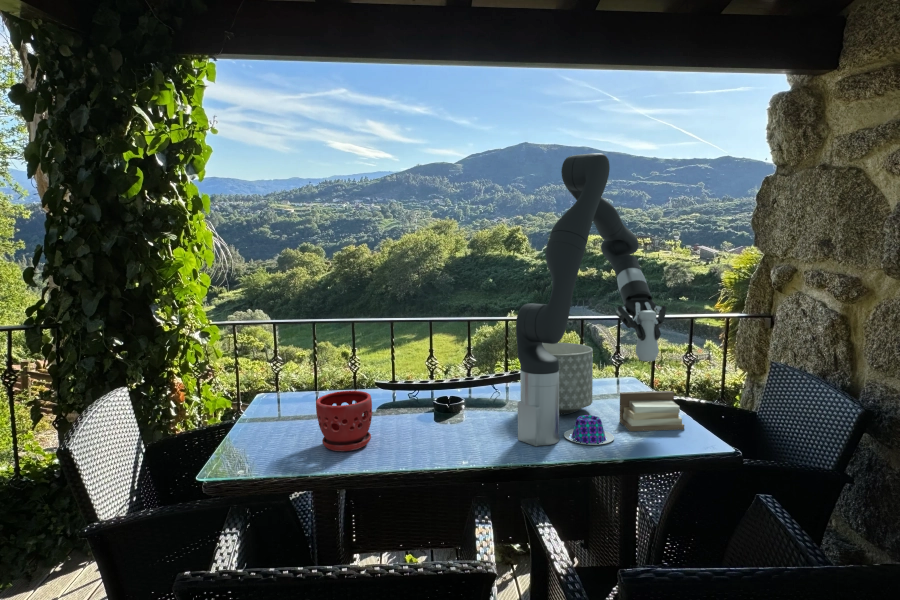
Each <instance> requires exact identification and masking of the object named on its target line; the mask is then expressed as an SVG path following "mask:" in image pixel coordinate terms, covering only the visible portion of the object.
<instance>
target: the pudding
mask: <svg viewBox="0 0 900 600" xmlns="http://www.w3.org/2000/svg"><path fill="white" fill-rule="evenodd" d="M570 434H572V437H573V438H575V439H573V438H572V439H573V440H575V441H573V440H572V439H570V438H569V436H570ZM563 436H564V438H565V439H567V440H568V441H571V442H573V443H577V444H581V445H587V444H586V443H588V445H591V446H592V445H593V446H594V445H596V446H597V445H605V444H609V443H611V442H612V441H614V440H615V436H614V434H612V433H611V432H609V431H606V430H605V429H604V426H603V421H602V419H601V418H600V417H599V416H596V415H589V414H585V415H579V416H578V417H577V418H576V419H575V423H574V427H573V428H571V429H569V430H566V431H565V432H564V433H563ZM606 437H607V441H606ZM576 440H577V441H580V442H581V443H580V442H576ZM600 442H601V443H600ZM602 442H603V443H602ZM597 443H599V444H597Z"/></svg>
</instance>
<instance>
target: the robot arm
mask: <svg viewBox="0 0 900 600" xmlns="http://www.w3.org/2000/svg"><path fill="white" fill-rule="evenodd" d="M610 166H611V165H610V160H609V158H608V156H607V155H606V154H604V153H601V152H599V153H598V152H597V153H596V152H593V153H583V154H580V153H579V154H574V155H569V156H567V157H566V158H565V159H564V161H563V163H562V165H561V179H562V182H563V184H564V186H565V187H566V189H567V190H568V192H569V193H570V194H571V195H572V196H573V198H574V199H575V200H576V202H575V203H574V204H573V205H572V206H571V207H570V208H569V209H568V210H567V211H566V212H565V213H564V214H563V215H562V216H561V217H560V218H559V219H558V220H557V222H555V224H554V225H553V227H552V229H551V231H550V234H549V238H548V241H547V244H546V248H545V253H544V254H545V261H546V264H547V268H548V271H549V273H550V279H551V282H552V284H551V285H552V286H551V287H552V288H551V293H550V297H549V301H548V303H547V304H546V303H545V304H544V303H532V302H531V303H525V304H523V305H522V306H521V307H520V309H519V310H518V312H517V315H516V320H515V321H516V323H515V333H516V348H517V350H516V351H517V359H518V363H519V367H520V401H518V403H517V440H518V441H520V442H523V443H526V444H529V445H531V446H534V447H539V446H550V445H554V444H557V443H559V441H560V415H559V361H558V359H557V358H556V357H555V356H553V355H552V354H550V353H549V352H548V351H547V350H546V349H545V348H544V347H543V344H542V343H548V344H556V343H560V341H561V340H562V339H563V337H564V335H565V332H566V330H567V326H568V322H569V318H570V317H569V316H570V311H571V306H572V300H573V296H574V290H575V285H576V281H577V278H578V273H579V270H580V268H581V265H582V261H583V258H584V254H585V251H586V248H587V244H588V239H589V236H590V232H591V228H592V224H593V225H594V226H595V228H596V230H597V232H598V234H599V236H600V237H601V238H602V239H603V241H602V243H601V245H600V251H601V253H602V255H603V257H604V258H605V259H606V260H607V262H608V263H610V265H611V267H612V269H613V271H614V274H615V278H616V280H617V286H618V291H619V294H620V296H621V300H622V303H623V305H624V306H618V307H617V309H616V312H615V315H616V316H617V317H618V318H619V320H621V322H622V323H623V324H624V325H625V327H627V328H628V329H631V328H632V329H634V330H635V333H636V336H637V339H638V338H639V339H640V340H641V341H643V340H644V339H645V337H646V335H645V332H644V329H643V327H642V325H641V319H639V313H640V312H641V311H643V310H651V311H654V312H656V316H658V317H657V318H656V319H655V320H654V325H655V326H654V330H655V340H657V341H659V339H660V338H661V334H662V333H661V331H660V328H661V327H662V326H663V323H664V322H665V318H666V312H667V306H666V305H662V306H659V305H656V303H655V301H654V300H653V298H652V297H653V296H652V293H651V291H650V288H649V285H648V283H647V280H646V277H645V275H644V274H643V270H642V269H641V266H640V262H639V261H638V259H637V257H636V256H634V255H633V254H635V253H636V252H637V251H638V250H639V246H640V245H639V240H638V238H637V236H636V235H635V234H634V233H633V232H632V231H631V230H630V229H629V228H627V226H626V225H625V224H624V223H623V221H622V218H621V216H620V214H619V212H618V211H617V208H616V207H614V205H613V204H612V203H610V202H609V201H608V200H606V199H605V198H603V194H604V192H605V189H606V187H607V184H608V180H609V176H610V170H611V169H610V168H611V167H610Z"/></svg>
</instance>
